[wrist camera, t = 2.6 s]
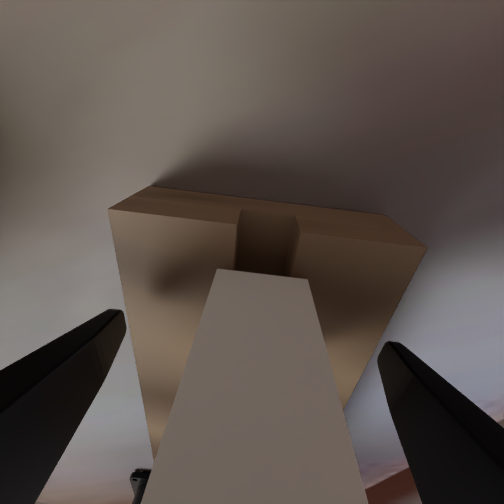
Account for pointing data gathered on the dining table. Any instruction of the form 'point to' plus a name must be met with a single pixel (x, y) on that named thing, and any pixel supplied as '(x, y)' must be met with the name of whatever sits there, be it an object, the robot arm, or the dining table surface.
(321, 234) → the fader track
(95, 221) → the dining table surface
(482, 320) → the dining table surface
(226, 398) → the fader tab
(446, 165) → the dining table surface
